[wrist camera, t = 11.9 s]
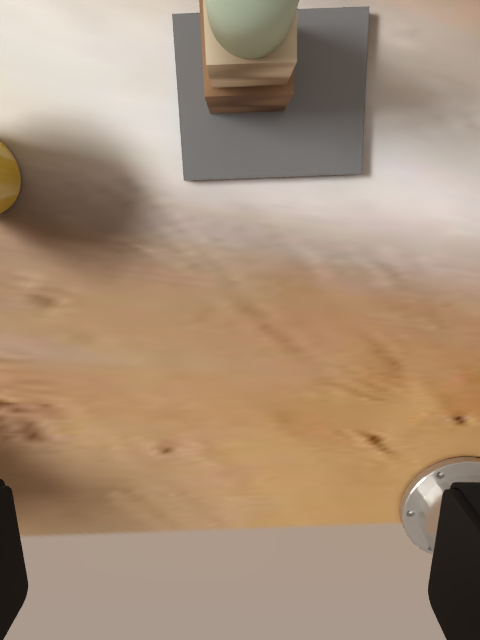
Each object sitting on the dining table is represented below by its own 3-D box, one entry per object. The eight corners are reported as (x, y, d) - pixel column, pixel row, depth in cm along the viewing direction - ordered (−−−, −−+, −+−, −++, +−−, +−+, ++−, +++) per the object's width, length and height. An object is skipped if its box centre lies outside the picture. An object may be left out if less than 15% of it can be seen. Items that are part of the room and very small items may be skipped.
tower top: (286, -4, 26) (297, -49, 21) (286, 85, 27) (297, 61, 23) (207, -1, 26) (200, -45, 21) (211, 87, 27) (206, 65, 23)
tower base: (283, 24, 32) (294, -14, 26) (284, 111, 33) (294, 93, 28) (205, 27, 32) (198, -10, 26) (210, 113, 33) (204, 96, 28)
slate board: (365, 12, 32) (369, 6, 31) (358, 174, 36) (361, 173, 35) (174, 19, 32) (172, 14, 31) (185, 180, 36) (183, 180, 35)
